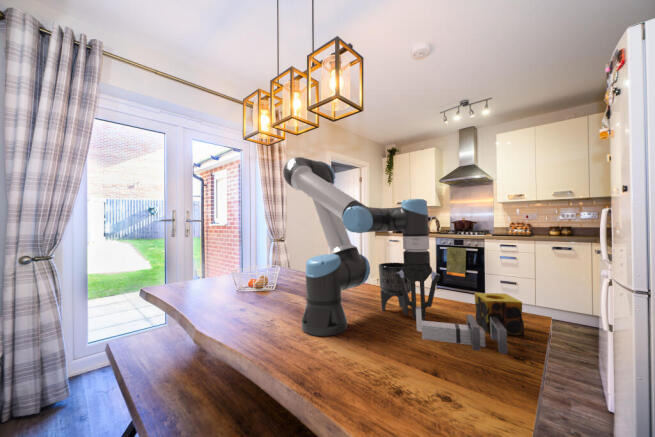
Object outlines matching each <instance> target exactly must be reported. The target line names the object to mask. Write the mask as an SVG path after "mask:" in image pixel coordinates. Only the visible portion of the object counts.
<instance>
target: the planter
mask: <svg viewBox="0 0 655 437" xmlns="http://www.w3.org/2000/svg"><path fill="white" fill-rule="evenodd" d="M403 266H404V262H384V263H379V264H378V273H379V274H378V275H379V276H378V277H379V288H380V300H381V301H380V302H381V304H380V305H381V311H382V312H385V311H386V305H387V302H388V301H389V300H390V299H391V298H393V297H396V298H397V300H398V307H399V308H402V314H403V315H404V316H407V315H409V306H408V305H406V304H405V300H404V297H403V293H402V290H401V286H400V283H399V280H398V279H397V278H396V276H395V275H396V273H397V272H400V271H401V270H402V268H403ZM403 279H404V282H405V286H406V289H407V293H408V294H409V293H411V281H410V280H409V279H408V277H407V276H406V275H405V274H404V278H403Z"/></svg>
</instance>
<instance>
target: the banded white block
mask: <svg viewBox="0 0 655 437" xmlns="http://www.w3.org/2000/svg"><path fill="white" fill-rule="evenodd" d="M478 326H479V328H480V347H482V348H486V331H485V330H484V329H483V328H482V327H481V326H480V325H478ZM421 339H422V340H427V341H434V342H435V341H437V342H442V343H443V342H444V343H452V344H460V345H467V346H472V328H471V326H470V325H467V324H460V323H450V322H440V321H439V322H438V321H430V320H422V332H421Z"/></svg>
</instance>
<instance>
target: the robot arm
mask: <svg viewBox="0 0 655 437" xmlns="http://www.w3.org/2000/svg"><path fill="white" fill-rule="evenodd" d="M282 170H283V171H282V174H283V178H284V181H285V182H286V183H287V185H289V186H290V187H292V188H293V189H294V190H296V191H302V192H304V194H306V195H307V197H309V198H311V199H312V200H313V204H314V208H315V210H316V212H317V217H318V218H319V219H318V220H319V222H320V225H321V227H322V231H323V233H324V236H325V239H326V243H327V245H328V248H329V253H328V254H327V253H325V254H319V255H314V256H312V257H310V258H309V259H307V261H306V263H305V291H306V293H305V295H306V296H305V297H306V305H305V309H304V311H303V316H302V318H301V330H302V331H303V332H304V333H306V334H308V335H311V336H317V337H328V336H329V337H330V336H331V337H332V336H336V335H339V334H341V333H343V332H345V331H346V330H347V329H348V318H347V316H346V313H345V310H344V306H343V304H342V291H344V290H346V291H347V290H349V289H352V288H357V287H360V286H361V285H363V284H364V283H366V282H367V281H368V279H369V276H370V274H371V266H370V265H371V264H370V262H369V260H368V258H367V257H366V256H365V255H363V254H361V253H360V252H359V249H358V247H357V246H356V245H353V243H352V242H351V239H350V237H349V234H348V232H350V233H356V234H363V233H374V232H375V233H376V232H377V233H378V232H379V233H380V232H382V233H383V232H402V246H403V247H402V249H403V252H402V254H403V263H404V266H403V268H402V270H401V271H400V272H397V273H396V275H395V276H396V278H397V279H398V280H399V283H400V286H401V290H402V293H403V297H404V300H405V304H406V305H408V307H410V308H411V316H412V319H413V320H414V319H415V320H416V321H415V322H416V332H420V333H422V321H423V320H426V319H427V317H426V316H427V314H426V311H427V310H426V309H427V308H431V307H432V306H433V302H434V297H435V292H436V287H437V283H438V282H439V280H440V279H441V275H440V274H439V273H437V272H435V271H434V270H433V268H432V267H431V256H430V253H431V252H430V251H429V249H430V233H429V212H428V211H429V210H428V202H427V201H426V199H424V198H411V199H410V198H409V199H403V200H402V201H401V204H400V207H388V208H387V207H386V208H385V207H384V208H383V207H373V206H371V207H370V206H366V205H365V204H363V203H362V202H360V201H358V200H357V199H355V198H354V197H352V196H351V195H349V194H347V193H346V192H345V191H342V190H341V189H340V188H338V187H336V186H335V182H336V181H335V180H336V173H335V170H334V168H333V167H332V166H331V165H329V164H328V163H327V162H324V161H321V160H320V161H319V160H318V161H317V160H313V159H310V158H306V157H303V156H302V157H301V156H299V157H297V156H296V157H293V158H291V159H289V160H288V161H286V163H285V164H284V166H283V169H282ZM404 274H405V275H406V276H407V277H408V279H409V280H410V281H411V292H410V295H411V300H410V296H409V293H407V289H406V286H405V282H404V279H403V278H404ZM429 276H430V277H431V278H430V279H431V283H430V289H429V292H428V298H427V301H426V293H425V292H426V290H425V282H426V281H427V279H429ZM416 282H418V283H419V291H420V292H419V294H420V295H419V297H420V306H419V305H417V293H416V292H417V291H416V290H417V289H416V287H417V286H416Z"/></svg>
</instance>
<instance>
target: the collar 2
mask: <svg viewBox="0 0 655 437" xmlns="http://www.w3.org/2000/svg"><path fill="white" fill-rule="evenodd" d="M507 336H508V335H507V330H506V329H505V328H504V326H503V325H502V324H501V323H500V321H499V320H498V319H497V318H496V317H490V339H491V340H492V341H497V350H498V352H499V354H503V355H508V337H507Z"/></svg>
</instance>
